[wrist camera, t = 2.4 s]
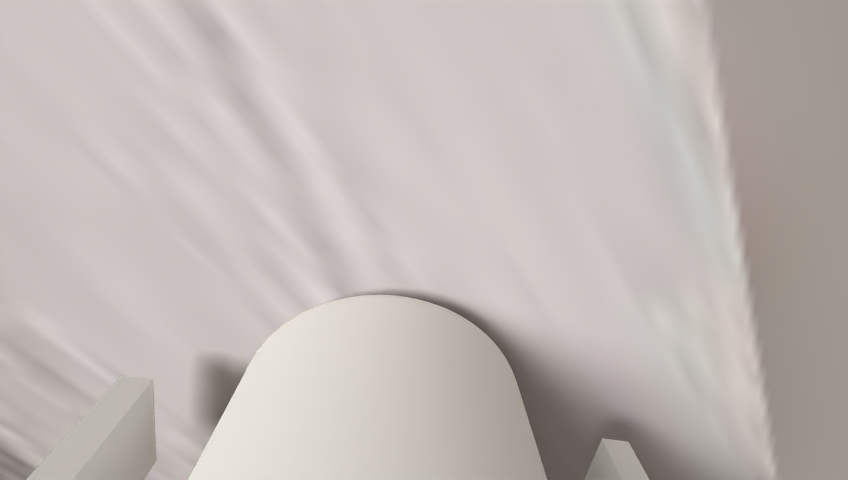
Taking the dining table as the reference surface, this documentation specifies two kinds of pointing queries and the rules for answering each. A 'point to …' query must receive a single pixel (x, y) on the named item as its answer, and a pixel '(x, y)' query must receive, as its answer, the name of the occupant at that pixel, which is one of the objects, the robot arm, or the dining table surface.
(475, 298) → the dining table surface
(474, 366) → the beverage can
